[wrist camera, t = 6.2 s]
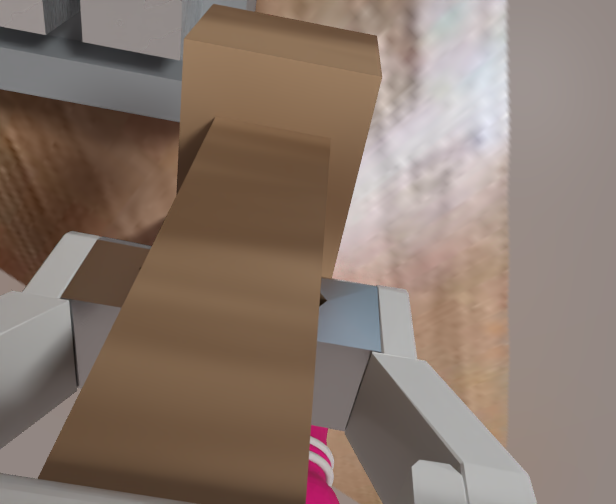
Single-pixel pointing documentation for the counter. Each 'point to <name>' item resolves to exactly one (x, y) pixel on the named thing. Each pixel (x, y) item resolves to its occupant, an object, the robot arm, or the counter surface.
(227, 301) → the brown bar
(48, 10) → the light grey cube
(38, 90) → the groove board
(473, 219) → the counter surface
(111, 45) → the grey cube
